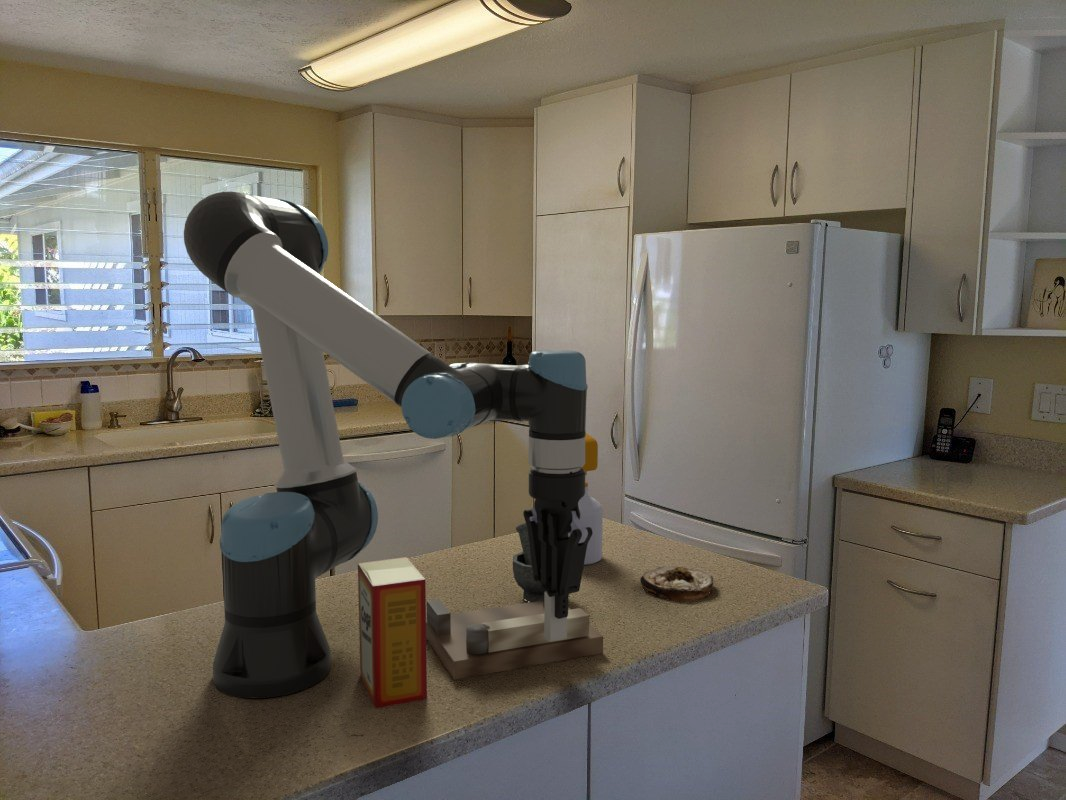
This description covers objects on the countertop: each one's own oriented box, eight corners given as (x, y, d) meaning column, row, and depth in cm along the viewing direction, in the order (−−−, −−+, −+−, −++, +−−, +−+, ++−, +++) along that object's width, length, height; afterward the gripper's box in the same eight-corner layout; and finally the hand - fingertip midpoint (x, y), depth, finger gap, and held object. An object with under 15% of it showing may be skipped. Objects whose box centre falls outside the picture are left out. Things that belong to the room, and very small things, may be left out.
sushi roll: (616, 586, 146) (616, 563, 146) (677, 570, 155) (677, 549, 154) (675, 612, 134) (676, 587, 134) (738, 594, 143) (739, 570, 142)
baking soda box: (360, 675, 111) (357, 560, 109) (408, 667, 113) (406, 554, 111) (375, 708, 102) (372, 583, 100) (427, 698, 105) (425, 576, 103)
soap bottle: (579, 548, 167) (580, 427, 164) (611, 559, 160) (613, 433, 157) (545, 557, 161) (546, 432, 158) (577, 569, 154) (578, 438, 151)
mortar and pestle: (581, 600, 138) (581, 530, 137) (535, 613, 133) (535, 540, 131) (540, 581, 147) (541, 515, 146) (496, 592, 142) (496, 524, 140)
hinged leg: (470, 655, 111) (470, 634, 110) (463, 646, 114) (463, 625, 113) (589, 636, 117) (589, 615, 117) (579, 627, 120) (579, 607, 120)
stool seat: (454, 679, 110) (453, 639, 109) (423, 633, 125) (422, 598, 124) (603, 653, 118) (603, 616, 117) (557, 613, 133) (557, 580, 132)
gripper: (610, 473, 107) (607, 648, 110) (552, 456, 117) (550, 616, 120) (562, 480, 102) (560, 661, 105) (507, 461, 113) (506, 627, 116)
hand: (555, 637), depth 113 cm, fingers closed
